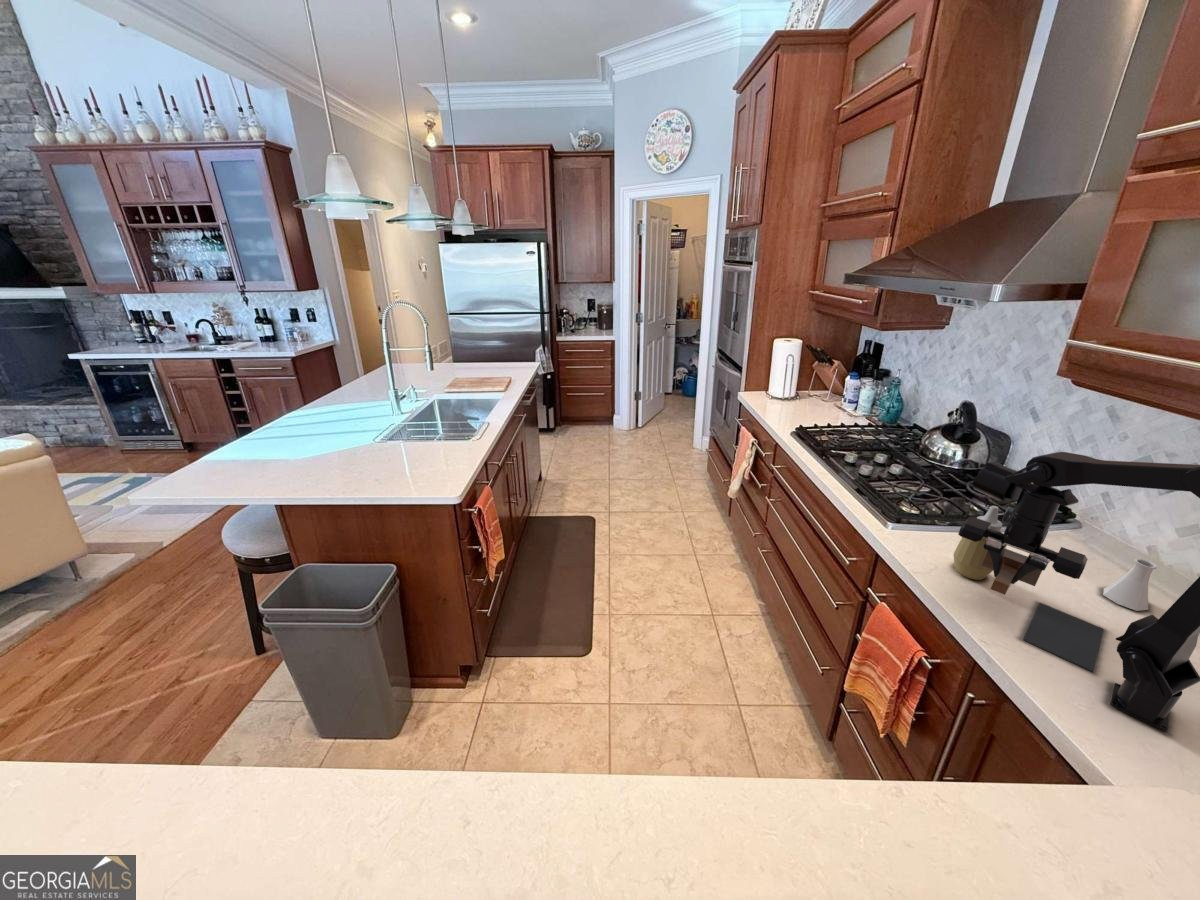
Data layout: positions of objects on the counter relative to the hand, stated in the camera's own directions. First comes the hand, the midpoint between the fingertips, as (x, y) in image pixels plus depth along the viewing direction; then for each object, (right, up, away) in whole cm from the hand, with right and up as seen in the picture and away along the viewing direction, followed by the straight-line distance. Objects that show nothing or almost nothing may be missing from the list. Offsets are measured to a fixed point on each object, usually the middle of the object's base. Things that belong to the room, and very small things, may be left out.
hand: (1004, 579), depth 96 cm
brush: (+2, 0, +2) cm, 3 cm away
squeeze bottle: (+5, -3, +16) cm, 17 cm away
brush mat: (+10, -10, -2) cm, 15 cm away
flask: (+33, -7, +7) cm, 34 cm away
